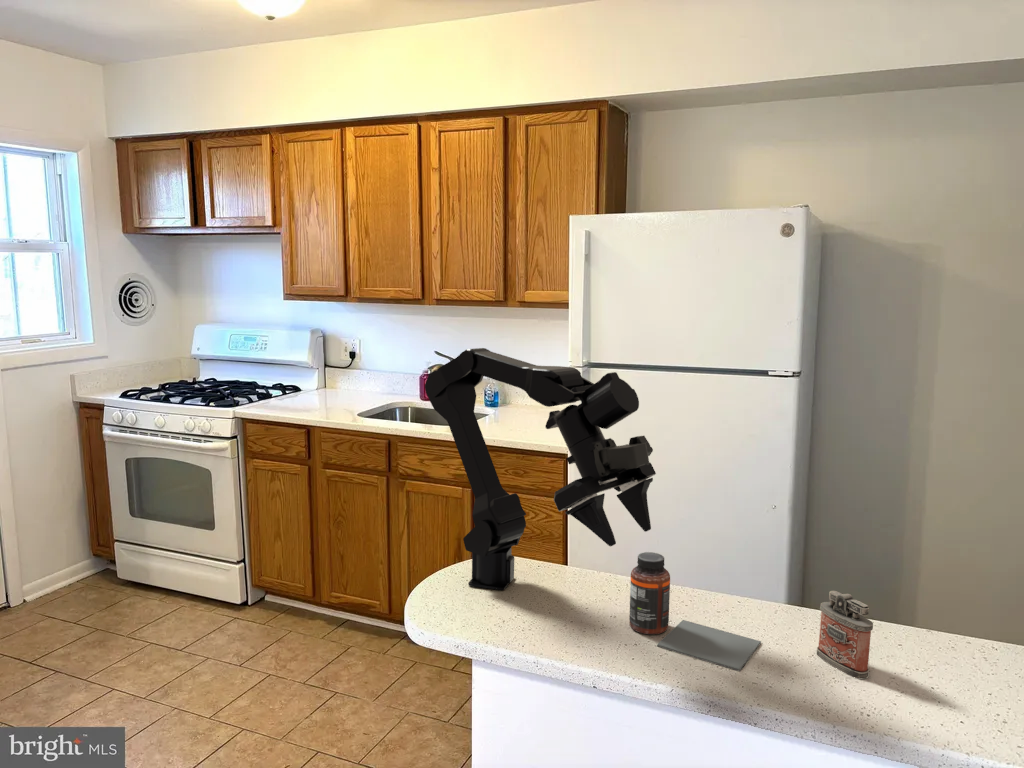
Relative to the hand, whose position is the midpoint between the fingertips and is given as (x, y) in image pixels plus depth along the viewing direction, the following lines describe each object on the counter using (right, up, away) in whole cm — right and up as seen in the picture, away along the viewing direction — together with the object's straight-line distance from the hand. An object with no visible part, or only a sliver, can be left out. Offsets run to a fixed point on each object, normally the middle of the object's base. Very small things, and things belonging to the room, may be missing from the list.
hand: (631, 537), depth 111 cm
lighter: (+29, -17, -6) cm, 33 cm away
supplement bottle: (+3, -15, +5) cm, 16 cm away
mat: (+11, -15, -1) cm, 19 cm away
